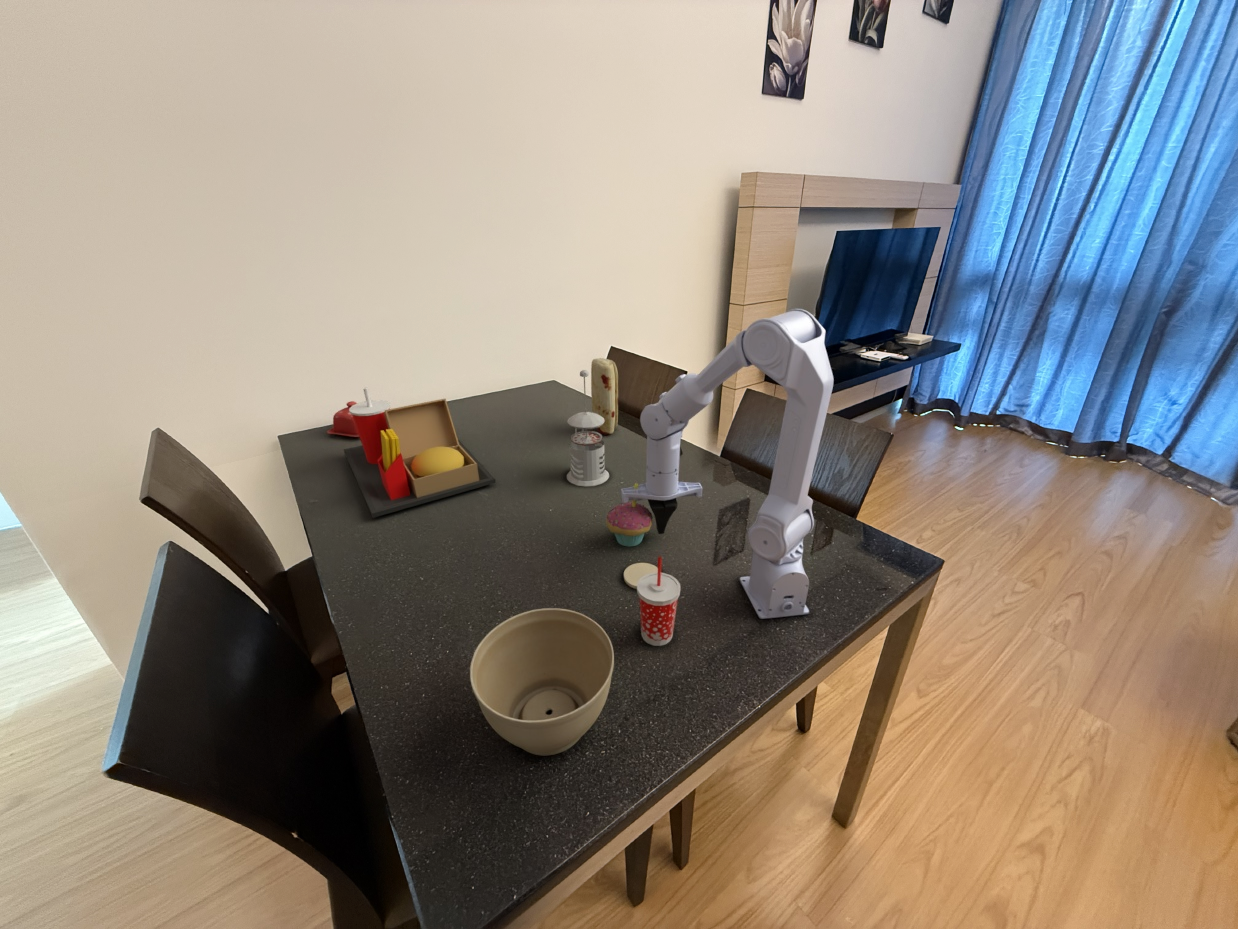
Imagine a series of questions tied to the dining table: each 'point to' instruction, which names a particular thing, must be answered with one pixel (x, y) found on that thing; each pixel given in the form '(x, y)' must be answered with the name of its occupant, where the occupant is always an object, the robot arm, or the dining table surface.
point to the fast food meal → (410, 455)
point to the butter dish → (344, 422)
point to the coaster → (637, 573)
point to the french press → (586, 448)
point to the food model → (605, 393)
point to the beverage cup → (658, 606)
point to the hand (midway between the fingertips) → (660, 530)
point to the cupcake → (629, 522)
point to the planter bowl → (543, 678)
